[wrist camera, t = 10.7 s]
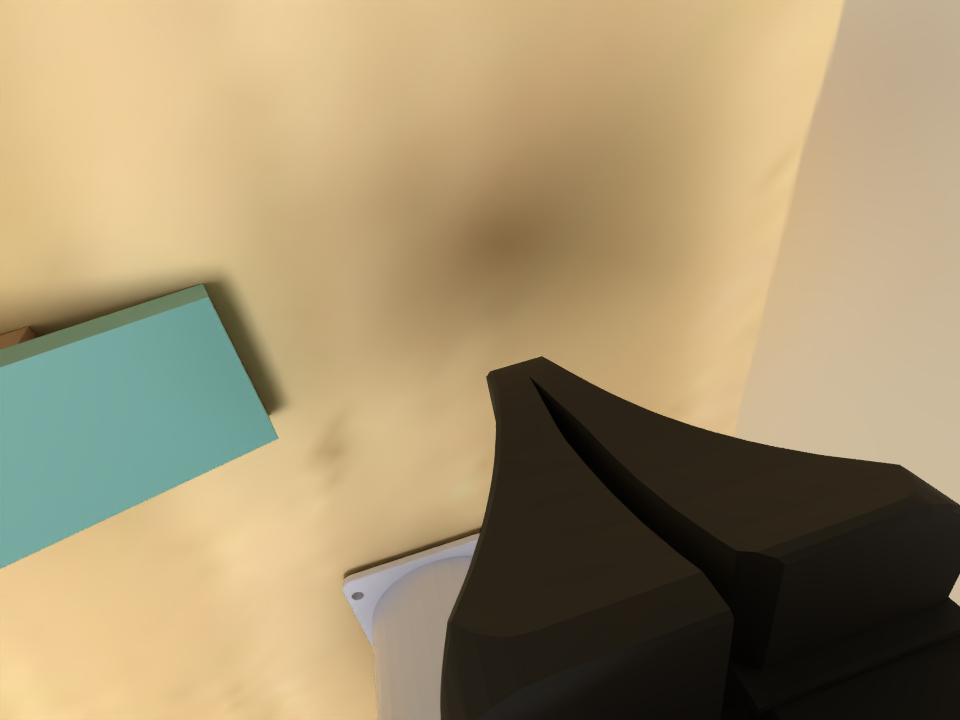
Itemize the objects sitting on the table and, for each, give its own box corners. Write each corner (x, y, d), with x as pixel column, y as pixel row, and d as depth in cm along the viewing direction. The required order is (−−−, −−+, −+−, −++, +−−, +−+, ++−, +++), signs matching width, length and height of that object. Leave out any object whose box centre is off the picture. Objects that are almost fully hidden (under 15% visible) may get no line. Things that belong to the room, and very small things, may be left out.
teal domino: (278, 438, 16) (-26, 580, 13) (268, 416, 17) (-11, 541, 14) (208, 297, 13) (-191, 432, 10) (202, 283, 15) (-155, 400, 12)
